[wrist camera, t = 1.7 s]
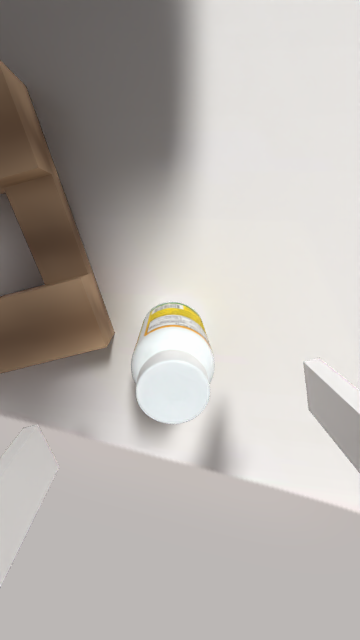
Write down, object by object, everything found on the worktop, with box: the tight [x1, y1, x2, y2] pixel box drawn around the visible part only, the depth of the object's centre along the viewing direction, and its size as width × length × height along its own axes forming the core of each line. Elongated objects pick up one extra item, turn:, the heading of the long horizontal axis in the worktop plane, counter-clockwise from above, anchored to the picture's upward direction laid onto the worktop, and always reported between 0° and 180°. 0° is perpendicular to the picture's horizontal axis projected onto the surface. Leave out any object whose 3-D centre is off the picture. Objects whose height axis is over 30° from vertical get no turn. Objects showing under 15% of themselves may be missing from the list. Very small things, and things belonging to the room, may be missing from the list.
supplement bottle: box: [131, 301, 215, 424], centre depth 18 cm, size 5×5×10 cm
